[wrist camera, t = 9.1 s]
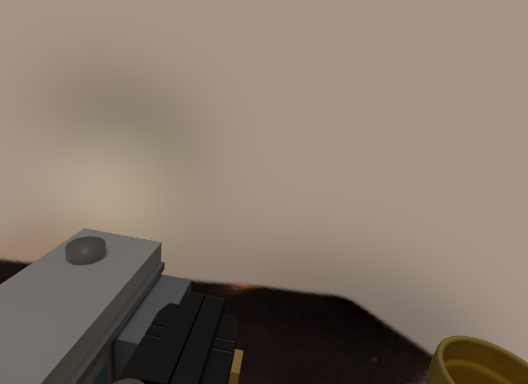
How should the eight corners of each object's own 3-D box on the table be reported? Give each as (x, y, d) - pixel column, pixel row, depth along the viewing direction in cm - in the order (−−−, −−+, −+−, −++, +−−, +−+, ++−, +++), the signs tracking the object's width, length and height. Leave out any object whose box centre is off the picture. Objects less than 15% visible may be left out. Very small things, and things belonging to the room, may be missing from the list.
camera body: (-154, 632, 15) (-302, 460, 10) (106, 315, 37) (101, 208, 32) (1, 670, 15) (-71, 512, 10) (172, 328, 36) (178, 222, 31)
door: (116, 418, 25) (113, 338, 22) (158, 341, 32) (160, 274, 29) (227, 441, 24) (240, 363, 21) (242, 358, 32) (254, 292, 29)
